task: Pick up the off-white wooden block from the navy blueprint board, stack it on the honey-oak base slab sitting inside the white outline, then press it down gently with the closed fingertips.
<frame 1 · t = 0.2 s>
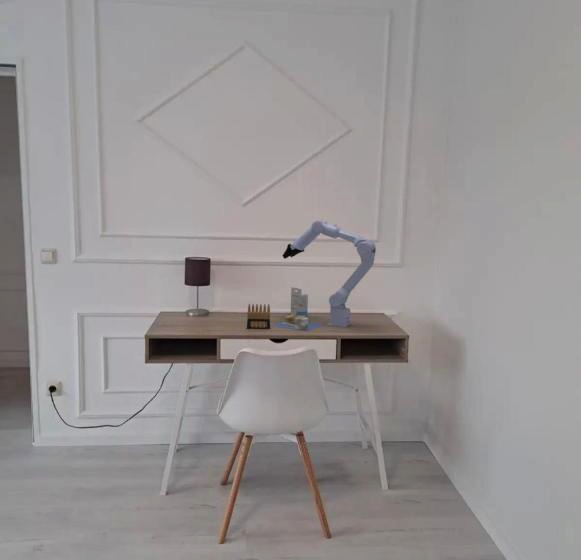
hand: (286, 256, 258), 31 cm above the table, tool tilted 50°, fingers open, 7 cm apart
base slab: (295, 322, 251), resting on blueprint board
top block: (301, 328, 239), resting on blueprint board
ammunition clip: (258, 330, 237), on the table
blueprint board: (297, 326, 246), on the table
ink box: (298, 316, 270), on the table
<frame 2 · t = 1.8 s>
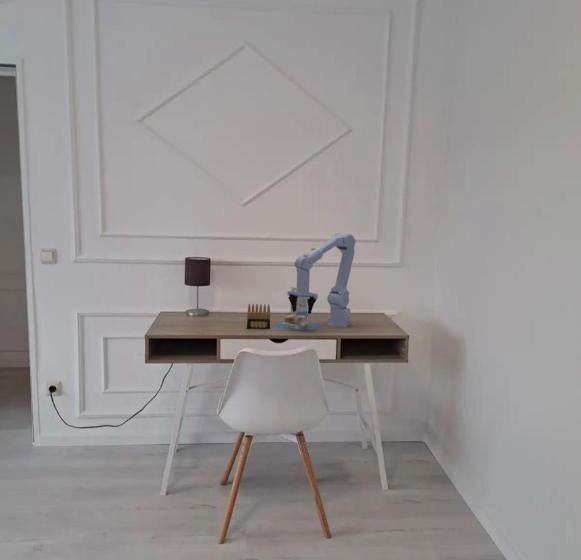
hand: (302, 312, 237), 8 cm above the table, tool pointing down, fingers open, 7 cm apart
nothing on the table moved.
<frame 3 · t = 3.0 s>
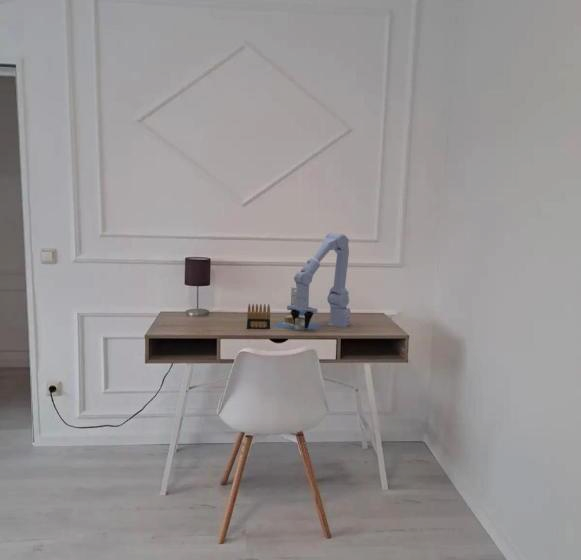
hand: (301, 327, 238), 1 cm above the table, tool pointing down, fingers closed on top block, 4 cm apart
top block: (301, 328, 239), resting on blueprint board, touching gripper
everything else where it was.
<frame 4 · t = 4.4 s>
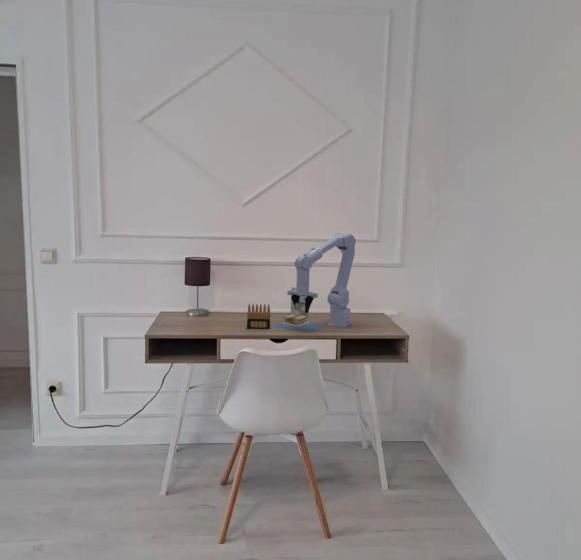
hand: (301, 311, 238), 8 cm above the table, tool pointing down, fingers closed on top block, 4 cm apart
top block: (301, 313, 238), point 7 cm above the table, touching gripper
everything else where it was.
when the fingers open (5 cm above the table, at t = 6.2 s): top block stays where it is, resting on base slab.
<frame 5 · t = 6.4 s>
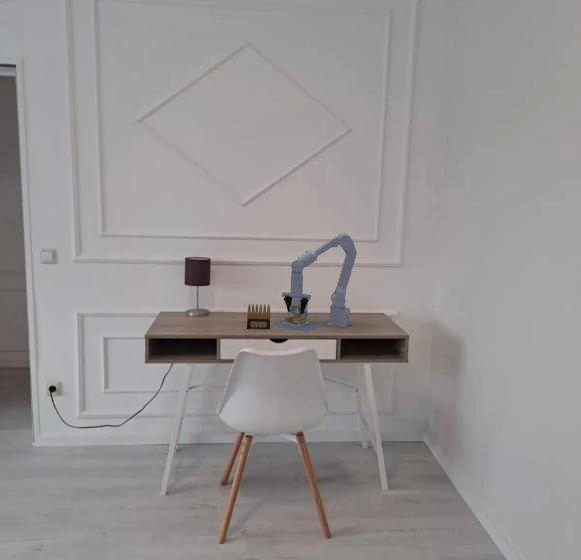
hand: (295, 312, 250), 5 cm above the table, tool pointing down, fingers open, 6 cm apart
base slab: (295, 322, 251), resting on blueprint board, touching top block
top block: (295, 316, 250), point 3 cm above the table, touching base slab
everything else where it was.
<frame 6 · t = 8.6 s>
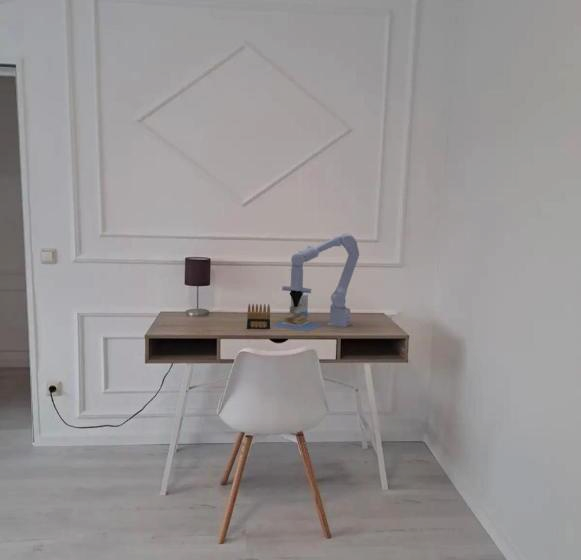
hand: (296, 306, 250), 8 cm above the table, tool pointing down, fingers closed, pressing on top block
top block: (295, 316, 250), point 3 cm above the table, touching base slab, gripper
everything else where it was.
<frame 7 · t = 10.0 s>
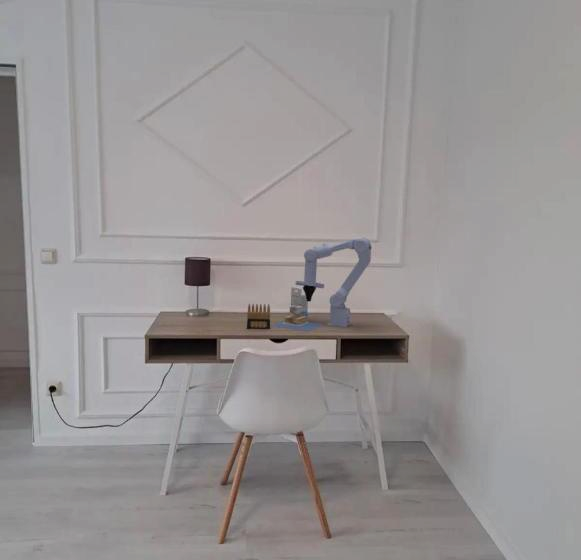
hand: (308, 301, 254), 10 cm above the table, tool pointing down, fingers closed
top block: (295, 316, 250), point 3 cm above the table, touching base slab
everything else where it was.
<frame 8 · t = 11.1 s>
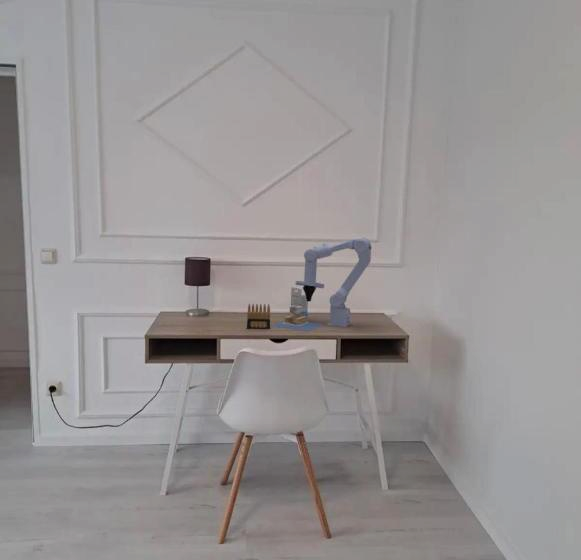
hand: (308, 301, 254), 10 cm above the table, tool pointing down, fingers closed
nothing on the table moved.
at the end: top block 0.1 cm off-centre on the base slab, point 3.0 cm above the base slab's base; top block tilted 0°; base slab moved 0.0 cm from its start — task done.
